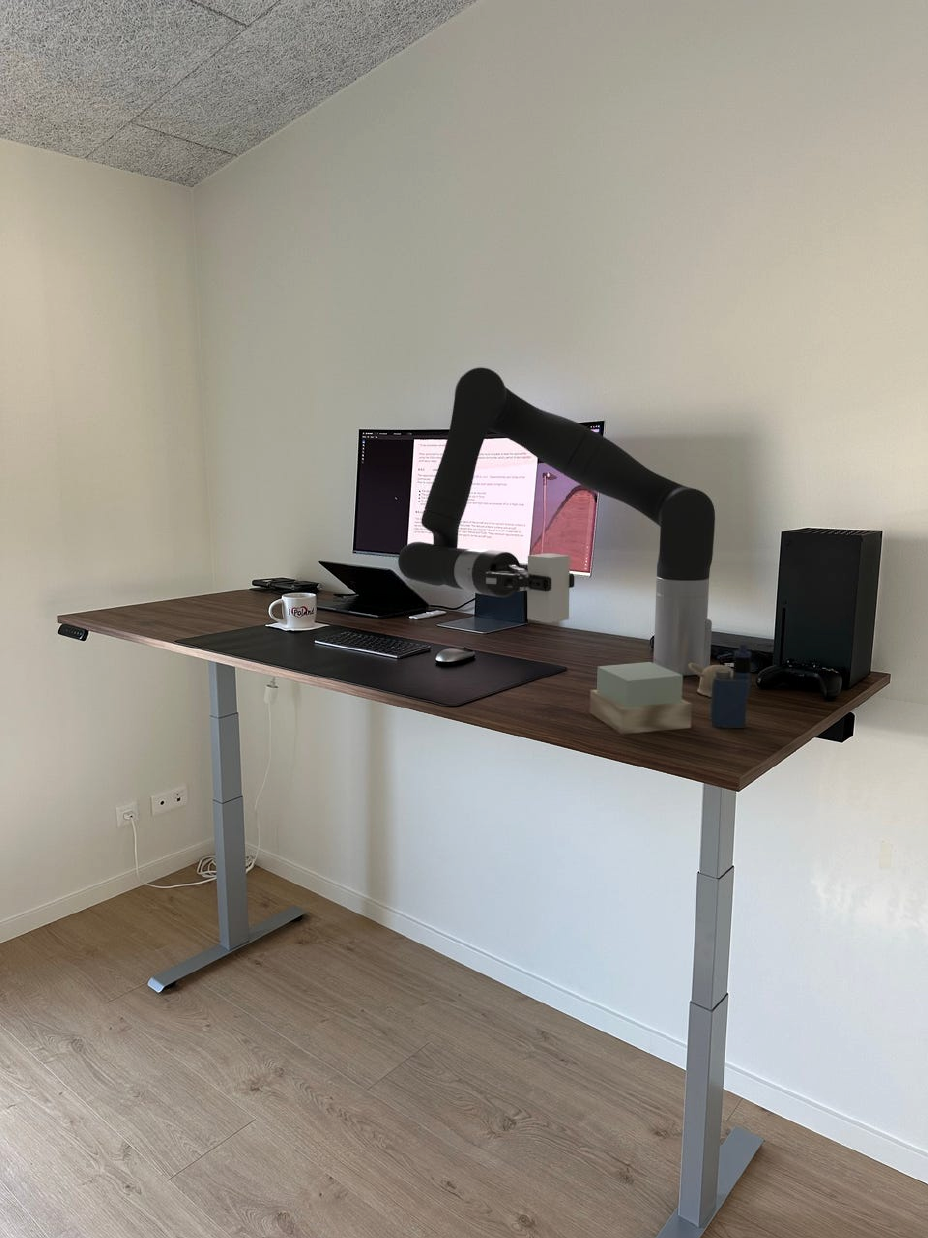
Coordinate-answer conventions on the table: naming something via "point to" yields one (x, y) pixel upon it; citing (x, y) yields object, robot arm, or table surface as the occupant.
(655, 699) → the top block
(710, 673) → the decorative ornament
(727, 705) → the vaping device
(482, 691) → the table surface
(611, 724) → the base block
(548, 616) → the white block
